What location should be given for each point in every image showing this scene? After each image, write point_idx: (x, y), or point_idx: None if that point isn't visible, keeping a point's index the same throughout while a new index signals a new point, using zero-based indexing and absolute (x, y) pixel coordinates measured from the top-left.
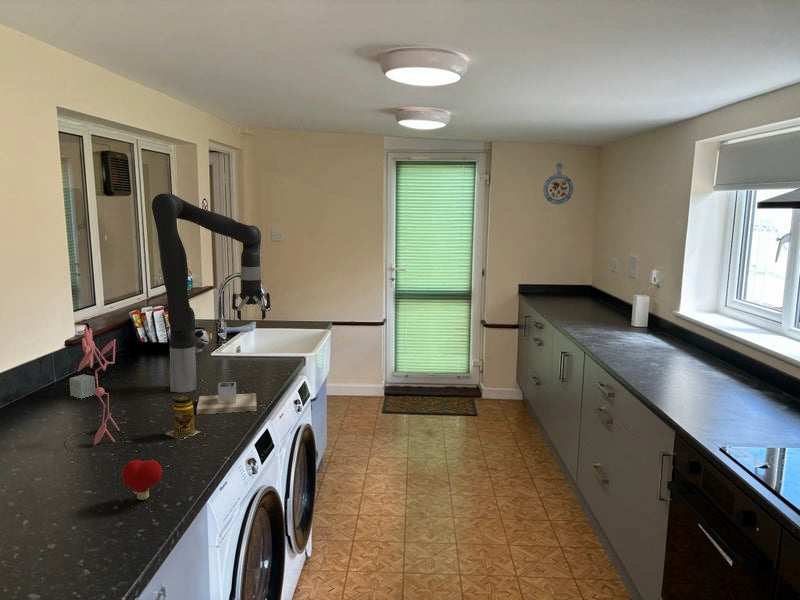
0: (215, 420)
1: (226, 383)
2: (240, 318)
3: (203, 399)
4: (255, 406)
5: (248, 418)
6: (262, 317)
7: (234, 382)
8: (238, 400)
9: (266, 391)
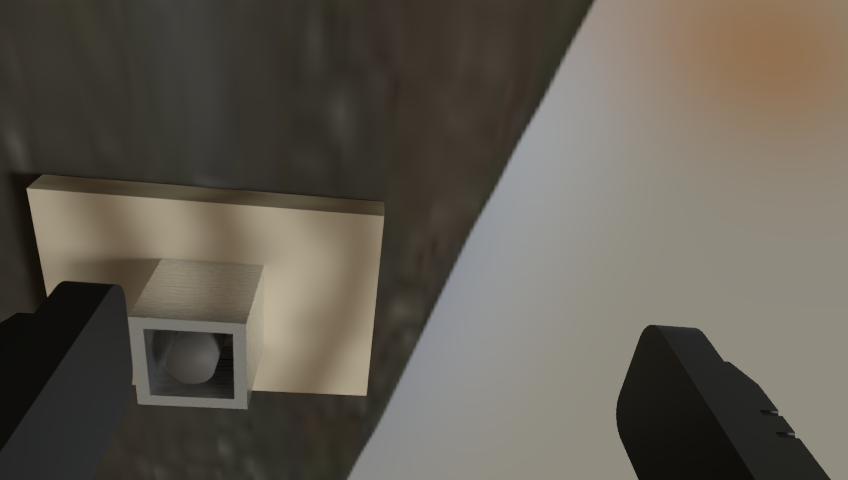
0: (179, 434)
1: (183, 327)
2: (102, 425)
3: (66, 250)
4: (361, 392)
5: (323, 441)
6: (641, 461)
7: (236, 333)
8: (276, 309)
9: (468, 85)
